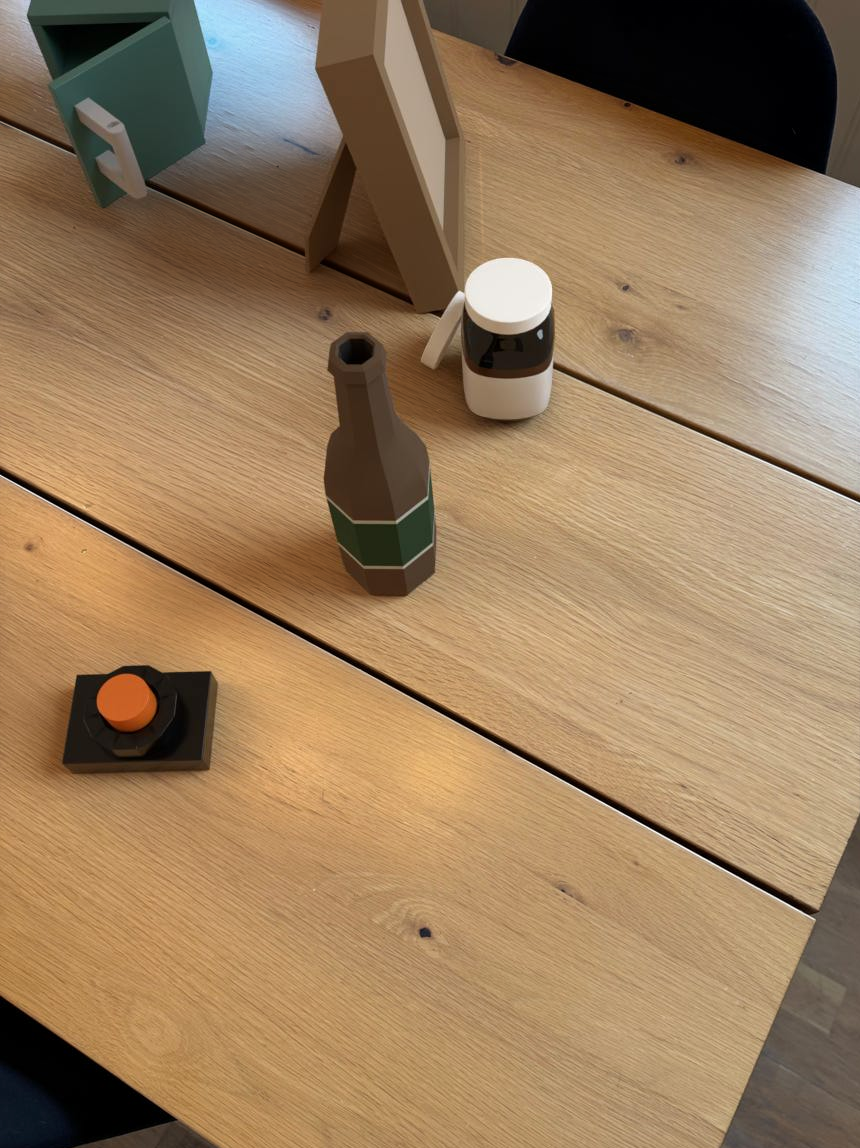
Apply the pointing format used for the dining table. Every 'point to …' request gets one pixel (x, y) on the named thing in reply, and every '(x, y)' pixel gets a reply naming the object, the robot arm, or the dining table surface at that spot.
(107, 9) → the minifridge
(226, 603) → the dining table surface
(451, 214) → the photo frame
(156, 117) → the fridge door
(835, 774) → the dining table surface
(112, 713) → the orange button
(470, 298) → the spread jar
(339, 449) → the beer bottle
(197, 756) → the button panel
